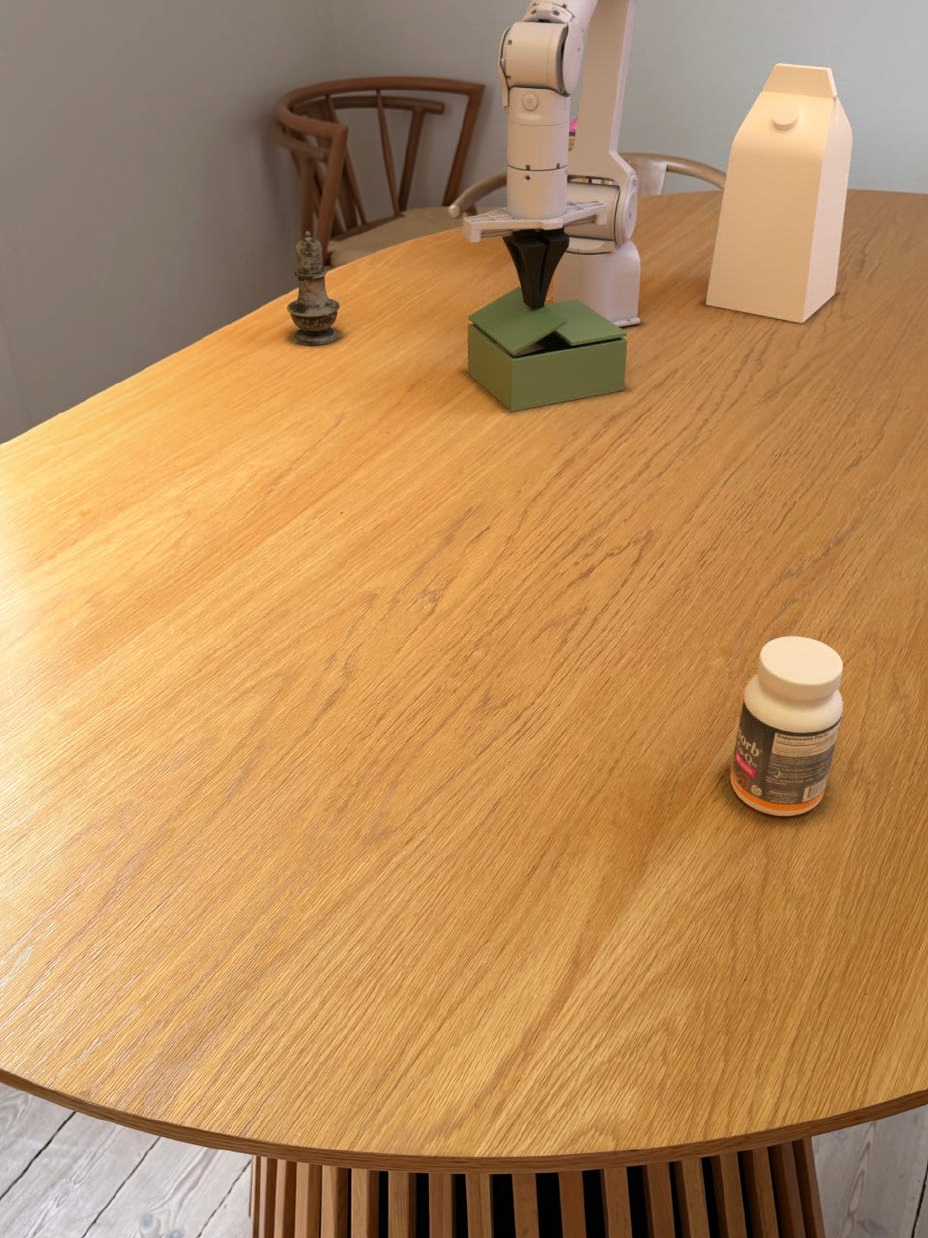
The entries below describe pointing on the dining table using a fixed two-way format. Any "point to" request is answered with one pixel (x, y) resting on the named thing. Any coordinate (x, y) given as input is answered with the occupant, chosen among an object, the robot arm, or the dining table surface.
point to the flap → (516, 321)
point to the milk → (784, 199)
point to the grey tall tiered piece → (312, 297)
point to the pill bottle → (788, 727)
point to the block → (526, 351)
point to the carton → (553, 361)
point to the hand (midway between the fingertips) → (533, 304)
